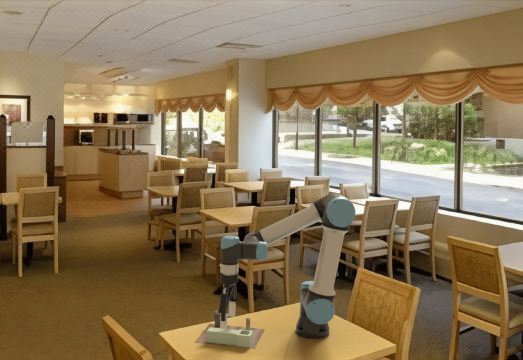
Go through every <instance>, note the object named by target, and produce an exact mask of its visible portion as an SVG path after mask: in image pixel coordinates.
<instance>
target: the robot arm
mask: <svg viewBox="0 0 523 360" xmlns="http://www.w3.org/2000/svg"><path fill="white" fill-rule="evenodd" d="M355 217H356V208H355V205H354V204H353V201H351V200H350V199H349V198H348V197H346V196H344V194H343V195H342V194H341V193H337V192H331V193H329V194H326V195H324V196H323V197H321V198H318V199H317V200H315V201H312V202H311V204H310V206H307V207H306V208H303V209H301V210H300V211H297V212H295V213H292V214H291V215H289V216H287V217H285V218H283V219H281V220H278V221H276V222H274V223H273V224H270V225H268V226H266V227H263V228H262V229H260V230H258V231H256V232H250V233H248V234H246V235H245V236H244V239H243V241H241V240H240V237H239V236H237V235H224V236H222V237H221V239H220V240H221V242H220V264H219V267H220V270H219V271H220V275H219V281H220V283H221V284H223V287H222V288H221V295H220V301H219V309H218V310H217V311H218V313H220V328H224V329H227V325H228V318H227V313H228V314H229V316H230V317H229V318H232V317H233V318H235V317H236V310H237V309H236V308H237V307H236V303H237V302H238V301H239V299H238V294H237V283H238V281H239V261H240V260H243V261H244V260H248V261H250V260H252V261H264V260H267V258H268V255H269V254H268V253H269V249H268V248H269V246H271V245H272V244H274V243H276V242H278V241H280V240H282V239H284V238H286V237H289V236H291V235H293V234H294V233H297V232H300V231H301V230H303V229H306V228H307V227H310V226H312V225H314V224H315V223H316V224H317V223H321V227H322V228H323V234H322V238H321V239H322V240H321V244H320V249H319V254H318V259H317V264H316V269H315V272H314V278H313V280H308V281H307V280H306V281H303V282H301V284H300V288H299V290H300V298H299V300H300V302H299V304H300V305H299V306H300V307H299V316H298V319H297V322H296V325H295V333H296V334H297V335H299V336H301V337H304V338H308V339H321V338H325V337H328V336H329V335H330V325H329V322H331V321H332V320H333V318H334V316H335V313H336V309H335V306H334V304H335V298H336V294H337V293H336V291H335V290H334V286H335V281H336V277H337V272H338V267H339V262H340V259H341V253H342V247H343V242H344V238H345V235H346V233H348V232H350V228H351V224H352V223H353V222H354V220H355V219H356V218H355ZM227 311H228V312H227Z"/></svg>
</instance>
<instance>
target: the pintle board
mask: <svg viewBox="0 0 523 360" xmlns="http://www.w3.org/2000/svg"><path fill="white" fill-rule="evenodd" d="M218 311H219V310H217V309H216V310H215V311H214V323H209V324H208V325H207V327H205V328H204V330H203V331H202V333H200V335H199V336H198V337H197V338H196V340H195V341H194V343H195V344H205V345H213V346H222V347H234V348H238V347H237V346H236V345H228V344H219V343H209V342H207V330H208V329H209V328H210V327H211V328H220V313H218ZM229 318H231V317H230V316H229V312H227V319H229ZM221 329H224V328H221ZM227 329H232V330H240V329H241V330H252V331H253V343H252V345H251V347H250V348H249V349H251V350H252V349H253V350H255V349H256V347H257V345H258V343H259V341H260V339H261V338H262V336H263V334H264V331H265V330H266V328H259V327H258V328H257V327H251V318H250V317H246V318H245V326H239V325H238V326H237V325H229V324H227ZM240 348H241V349H248V348H247V347H240Z"/></svg>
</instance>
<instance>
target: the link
mask: <svg viewBox="0 0 523 360" xmlns="http://www.w3.org/2000/svg"><path fill="white" fill-rule="evenodd" d="M207 342H209V343H219V344H228V345H236V346H237V347H236V348H241V347H247V348H246V349H250V347H251V345H252V343H253V331H252V330H241V329H240V330H232V329H221V328H211V327H210V328H209V329H208V330H207Z"/></svg>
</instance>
